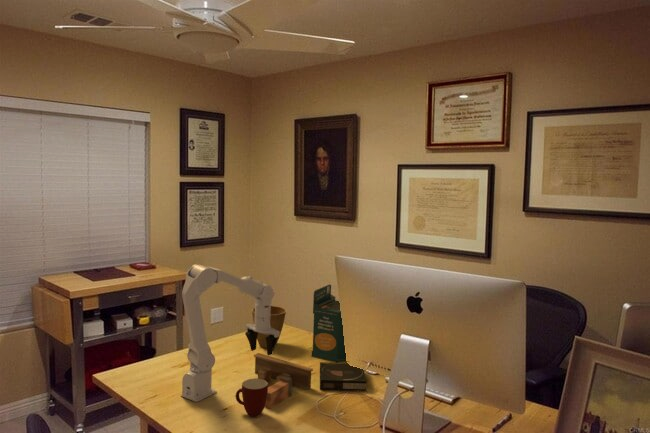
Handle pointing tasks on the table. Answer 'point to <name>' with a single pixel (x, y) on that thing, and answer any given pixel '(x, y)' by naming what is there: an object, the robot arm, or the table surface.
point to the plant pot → (271, 323)
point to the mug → (253, 396)
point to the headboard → (282, 370)
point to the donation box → (327, 327)
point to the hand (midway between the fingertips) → (261, 352)
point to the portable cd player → (341, 377)
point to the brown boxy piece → (279, 392)
